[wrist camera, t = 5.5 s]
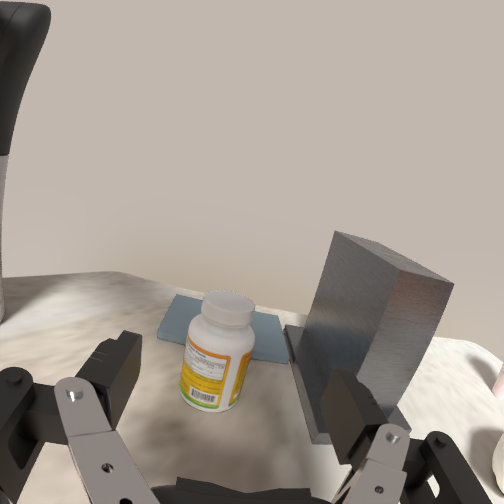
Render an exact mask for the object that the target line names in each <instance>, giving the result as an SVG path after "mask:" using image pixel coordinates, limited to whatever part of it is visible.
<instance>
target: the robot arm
mask: <svg viewBox="0 0 504 504" xmlns="http://www.w3.org/2000/svg"><path fill="white" fill-rule="evenodd" d="M50 21H51V11H50V9H49V7H48V6H46V5H43V4H37V3H25V2H6V1H1V2H0V322H1V321H2V319H3V318H4V315H5V307H4V297H3V284H2V264H1V263H2V262H1V261H2V260H1V233H2V210H3V198H4V187H5V178H6V171H7V164H8V157H9V156H8V154H9V151H10V146H11V140H12V135H13V131H14V126H15V122H16V118H17V114H18V110H19V107H20V103H21V100H22V97H23V93H24V91H25V88H26V85H27V82H28V80H29V77H30V74H31V72H32V70H33V67H34V65H35V63H36V60H37V58H38V55H39V53H40V51H41V48H42V46H43V44H44V41H45V38H46V35H47V33H48V30H49V26H50ZM141 350H142V335H140V334H136V333H133V332H129V331H125V330H124V331H123V332H122V333H121V335H120V336H119V338H118V339H117V340H114V339H110V338H109V339H107V340H105V341H103V342H101V343H100V344H99V345H98V347H97V348H96V349H95V352H93V353H92V354H91V356H90V357H89V358H88V360H87V361H86V362H85V364H84V365H83V366H82V368H81V369H80V370H79V372H78V373H77V374H76V376H75V377H68V378H64V379H62V380H60V381H59V382H57V384H56V385H55V386H50V385H44V384H38V383H33V378H32V376H31V374H30V373H29V372H28V371H27V370H25V369H23V368H19V367H9V368H6V369H3V370H2V371H1V372H0V504H17V501H18V499H19V496H20V494H21V492H22V490H23V487H24V485H25V483H26V481H27V478H28V476H29V474H30V472H31V470H32V468H33V466H34V464H35V462H36V459H37V457H38V455H39V453H40V451H41V449H42V447H43V445H44V443H45V442H50V443H56V444H63V445H68V448H69V451H70V454H71V457H72V460H73V462H74V465H75V468H76V470H77V473H78V476H79V478H80V481H81V483H82V485H83V488H84V490H85V493H86V495H87V497H88V500H89V502H90V504H398V502H399V501H400V503H401V504H492V502H491V501H490V499H489V497H488V495H487V494H486V492H485V490H484V489H483V487H482V485H481V484H480V482H479V481H478V479H477V477H476V476H475V474H474V472H473V471H472V469H471V468H470V466H469V464H468V463H467V461H466V460H465V458H464V457H463V455H462V454H461V452H460V450H459V449H458V447H457V446H456V444H455V443H454V441H453V440H452V439H451V437H450V436H448V435H447V434H445V433H443V432H440V431H433V432H430V433H429V434H428V435H427V437H426V438H425V439H424V440H419V439H412V438H410V436H409V434H408V433H407V431H406V430H405V429H403V428H402V427H400V426H398V425H395V424H389V422H388V420H387V419H386V417H385V415H384V413H383V412H382V410H381V408H380V407H379V405H377V401H376V400H375V399H374V396H373V395H372V393H371V391H370V390H369V389H368V388H367V387H366V386H365V385H364V384H363V383H361V382H359V381H358V379H357V377H356V376H355V374H354V372H353V371H347V370H335V371H334V372H333V373H332V375H331V378H330V380H329V382H328V384H327V387H326V389H325V391H324V393H323V396H322V398H321V403H320V408H321V412H322V415H323V418H324V421H325V424H326V426H327V429H328V432H329V435H330V438H331V441H332V444H333V447H334V449H335V452H336V455H337V458H338V461H339V464H340V465H344V464H351V466H352V468H351V469H350V470H349V472H348V474H347V475H346V477H345V479H344V481H343V482H342V484H341V486H340V488H339V489H338V491H337V493H336V494H335V496H334V498H333V499H332V501H331V502H328V501H325V500H322V499H319V498H315V497H311V492H310V488H302V489H283V488H279V489H273V490H267V491H261V492H254V493H242V492H239V491H235V490H232V489H229V488H225V487H222V486H219V485H216V484H213V483H209V482H202V481H196V480H190V479H185V478H180V477H177V481H176V485H166V486H158V487H152V488H149V486H148V484H147V483H146V481H145V480H144V478H143V476H142V475H141V473H140V471H139V470H138V468H137V466H136V464H135V463H134V461H133V459H132V457H131V456H130V454H129V452H128V450H127V448H126V446H125V444H124V443H123V441H122V439H121V437H120V435H119V433H118V432H117V430H115V429H116V427H117V424H118V422H119V420H120V417H121V415H122V413H123V411H124V408H125V406H126V404H127V402H128V399H129V397H130V395H131V393H132V391H133V388H134V386H135V384H136V382H137V379H138V377H139V373H140V366H141ZM432 475H434V477H435V479H436V481H437V483H438V485H439V488H440V491H439V494H438V496H437V497H436V498H435V496H434V494H433V492H432V490H431V488H430V486H429V484H428V481H427V480H428V479H429V478H430V477H431V476H432Z"/></svg>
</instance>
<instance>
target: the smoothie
mask: <svg viewBox="0 0 504 504" xmlns="http://www.w3.org/2000/svg"><path fill="white" fill-rule="evenodd" d="M492 393H493V394H494V395H495V396H496V397H497V398H499V399H501V400H504V363H503V365H502V368H501V370H500V373H499V375H498V377H497V379H496V382H495V384H494V386H493V388H492Z"/></svg>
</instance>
